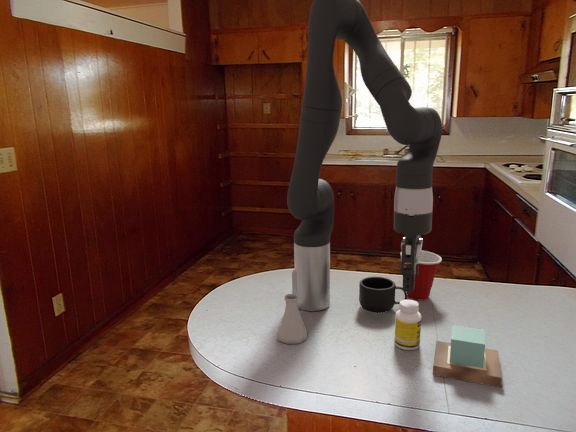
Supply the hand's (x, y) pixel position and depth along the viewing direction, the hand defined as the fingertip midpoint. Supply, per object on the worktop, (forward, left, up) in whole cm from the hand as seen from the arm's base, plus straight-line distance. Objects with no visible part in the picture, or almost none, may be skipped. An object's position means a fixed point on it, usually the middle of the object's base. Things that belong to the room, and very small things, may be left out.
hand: (410, 283), depth 94 cm
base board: (+12, -5, -14) cm, 19 cm away
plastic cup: (0, +27, -15) cm, 31 cm away
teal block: (+12, -5, -12) cm, 18 cm away
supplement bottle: (0, 0, -15) cm, 15 cm away
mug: (-8, +16, -15) cm, 23 cm away
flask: (-25, -5, -15) cm, 29 cm away
